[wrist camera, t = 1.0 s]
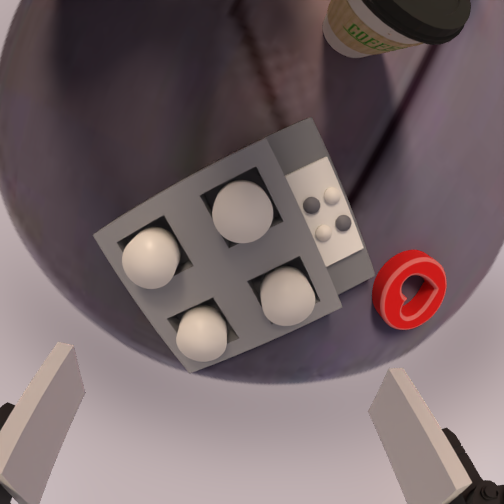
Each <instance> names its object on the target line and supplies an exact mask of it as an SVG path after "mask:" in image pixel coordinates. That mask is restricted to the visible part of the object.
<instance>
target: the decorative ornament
mask: <svg viewBox="0 0 504 504" xmlns="http://www.w3.org/2000/svg"><path fill="white" fill-rule="evenodd" d="M412 275H418V276H421V277H423V279H424V283H423V284H422V286H421V288H420V289H419V291H418V292H417V294H416V295H415V296H414V298H413V299H412V300H411V301H410V302H409V303H407V304H406V305H404V306H403V304H404V302H405V301H406V299H407V298H406V297H405V296H404V295H403V294H402V292H401V288H402V285H403V283H404V281H405V280H406V279H407V278H408V277H410V276H412ZM446 287H447V282H446V275H445V272H444V269H443V267H442V266H441V265H440V264H439V263H438V262H437V261H436V260H434V259H433V258H431V257H430V256H429V255H427V254H426V253H424V252H422V251H419V250H408V251H404V252H401V253H399V254H397V255H395V256H394V257H392V258H391V259H390V260H389V261H387V262H386V263H385V264H384V266H383V267H382V268H381V269H380V271H379V272H378V274H377V276H376V278H375V281H374V285H373V290H372V300H373V304H374V307H375V309H376V310H377V312H378V313H379V314H380V316H381V317H382V318H383V320H384V321H385V322H386V323H387V324H388V325H389V326H390V327H392V328H395V329H398V330H408V329H413V328H416V327H418V326H420V325H422V324H423V323H425V322H426V321H427V320H429V319H430V318H431V317H432V316H433V315H434V314H435V313H436V311H437V310H438V308H439V307H440V305H441V303H442V301H443V299H444V296H445V292H446Z"/></svg>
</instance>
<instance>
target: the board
mask: <svg viewBox="0 0 504 504" xmlns="http://www.w3.org/2000/svg"><path fill="white" fill-rule="evenodd" d="M236 180H248V181H252V182H254V183H256V184H257V185H259V186H260V187H261V188H262V189H263V190H264V191H265V193H266V195H267V196H268V198H269V200H270V201H271V204H272V207H273V220H272V223H271V225H270V228H269V229H268V231H267V232H266V233H265V234H264V235H263V236H262V237H261V238H259V239H257V240H255V241H253V242H249V243H236V242H232V241H230V240H228V239H226V238H225V237H223V236H222V235H221V234H220V233H219V232H218V230H217V229H216V227H215V225H214V222H213V217H212V211H213V206H214V203H215V199H216V197H217V194H218V193H219V191H220V190H221V189H222V188H223V187H224V186H225V185H226V184H228V183H230V182H232V181H236ZM149 227H160V228H164V229H166V230H168V231H169V232H171V233H172V234H173V235H174V236H175V237H176V239H177V240H178V242H179V245H180V248H181V257H180V261H179V264H178V266H177V268H176V271H175V273H174V275H173V277H172V279H171V280H170V281H169V282H168V283H167V284H166V285H165V286H163V287H160V288H157V289H146V288H142V287H140V286H138V285H136V284H135V283H133V282H132V281H131V280H130V279H129V278H128V276H127V275H126V273H125V271H124V269H123V265H122V255H123V252H124V249H125V247H126V246H127V245H128V243H129V242H130V241H131V240H132V239H133V238H134V237H135V236H136V235H137V234H138V233H139V232H140V231H142V230H144V229H146V228H149ZM93 236H94V238H95V239H96V241H97V243H98V244H99V246H100V248H101V249H102V251H103V253H104V254H105V256H106V258H107V259H108V261H109V262H110V264H111V265H112V267H113V269H114V270H115V272H116V273H117V275H118V276H119V278H120V279H121V281H122V282H123V284H124V285H125V287H126V288H127V290H128V291H129V293H130V294H131V296H132V297H133V299H134V300H135V302H136V303H137V305H138V306H139V307H140V309H141V310H142V312H143V313H144V314H145V316H146V317H147V319H148V320H149V321H150V323H151V324H152V326H153V327H154V328H155V330H156V331H157V332H158V334H159V335H160V336H161V338H162V339H163V340H164V342H165V343H166V344H167V346H168V347H169V348H170V349H171V351H172V352H173V353H174V355H175V356H176V357H177V358H178V360H179V361H180V362H181V363H182V365H183V366H184V367H185V368H186V370H187V371H188V372H189V373H192V372H195V371H198V370H200V369H203V368H205V367H208V366H211V365H213V364H216V363H218V362H221V361H223V360H226V359H228V358H231V357H233V356H236V355H238V354H241V353H243V352H245V351H248V350H250V349H253V348H255V347H257V346H260V345H262V344H264V343H267V342H269V341H271V340H273V339H276V338H278V337H280V336H282V335H285V334H287V333H289V332H291V331H293V330H296V329H298V328H300V327H302V326H304V325H306V324H308V323H311V322H313V321H315V320H317V319H319V318H321V317H323V316H325V315H327V314H329V313H331V312H333V311H335V310H337V309H339V308H341V307H342V305H341V302H340V300H339V297H338V294H340V293H342V292H344V291H346V290H348V289H350V288H352V287H354V286H356V285H358V284H360V283H362V282H364V281H366V280H368V279H369V278H371V277H373V276H375V273H374V270H373V267H372V264H371V261H370V258H369V255H368V252H367V249H366V246H365V243H364V241H363V238H362V235H361V232H360V230H359V227H358V224H357V222H356V219H355V216H354V214H353V211H352V209H351V206H350V203H349V201H348V198H347V196H346V193H345V191H344V189H343V186H342V184H341V181H340V179H339V177H338V174H337V172H336V169H335V167H334V165H333V163H332V160H331V158H330V156H329V153H328V151H327V149H326V147H325V145H324V142H323V140H322V138H321V136H320V134H319V132H318V129H317V127H316V125H315V123H314V121H313V119H312V117H309V118H306V119H304V120H302V121H299V122H297V123H295V124H293V125H290V126H288V127H286V128H284V129H282V130H279V131H277V132H275V133H273V134H271V135H269V136H266V137H264V138H262V139H260V140H258V141H256V142H254V143H252V144H250V145H248V146H246V147H244V148H242V149H240V150H238V151H236V152H234V153H232V154H230V155H228V156H226V157H224V158H222V159H220V160H218V161H216V162H214V163H212V164H210V165H208V166H206V167H205V168H203V169H201V170H199V171H197V172H195V173H193V174H192V175H190V176H188V177H186V178H184V179H182V180H181V181H179V182H177V183H175V184H174V185H172V186H170V187H168V188H166V189H165V190H163V191H161V192H160V193H158V194H156V195H154V196H153V197H151V198H149V199H148V200H146V201H144V202H143V203H141V204H139V205H138V206H136V207H134V208H133V209H131V210H129V211H128V212H126V213H125V214H123V215H121V216H120V217H118V218H117V219H115V220H114V221H112V222H111V223H110V224H108V225H106V226H105V227H103V228H102V229H100V230H99V231H98V232H96V233H95V234H94V235H93ZM279 266H292V267H295V268H297V269H299V270H300V271H302V272H303V273H304V275H305V276H306V278H307V280H308V282H309V284H310V286H311V288H312V290H313V292H314V294H315V306H314V309H313V311H312V313H311V314H310V315H309V316H308V317H307V318H306V319H305V320H304V321H302V322H300V323H298V324H296V325H292V326H281V325H277V324H275V323H273V322H271V321H270V320H269V319H268V318H267V317H266V316H265V314H264V312H263V309H262V303H261V297H260V283H261V281H262V279H263V277H264V276H265V275H266V274H267V273H268V272H269V271H270V270H272V269H274V268H276V267H279ZM198 305H207V306H211V307H213V308H216V309H217V310H219V311H220V312H221V313H222V314H223V315H224V317H225V319H226V322H227V346H226V349H225V351H224V353H223V354H222V355H221V356H220V357H218V358H217V359H215V360H212V361H207V362H200V361H195V360H192V359H190V358H188V357H186V356H185V355H184V354H182V352H181V351H180V350H179V348H178V346H177V343H176V337H177V333H178V329H179V325H180V321H181V318H182V316H183V314H184V313H185V312H186V311H187V310H188V309H189V308H191V307H194V306H198Z"/></svg>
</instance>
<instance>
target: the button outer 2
mask: <svg viewBox="0 0 504 504" xmlns="http://www.w3.org/2000/svg"><path fill="white" fill-rule="evenodd" d="M260 297H261V303H262V309H263V312H264V314H265V316H266V317H267V318H268V319H269V320H270V321H271V322H273V323H275V324H277V325H281V326H292V325H296V324H298V323H300V322H302V321H304V320H305V319H306V318H307V317H308V316H309V315H310V314H311V313H312V311H313V309H314V306H315V294H314V292H313V290H312V288H311V286H310V284H309V282H308V280H307V278H306V276H305V275H304V273H303V272H302V271H300V270H299V269H297V268H295V267H292V266H279V267H276V268H274V269H272V270H270V271H269V272H268V273H267V274H266V275H265V276H264V277H263V279H262V281H261V283H260Z"/></svg>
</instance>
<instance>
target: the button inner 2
mask: <svg viewBox="0 0 504 504" xmlns="http://www.w3.org/2000/svg"><path fill="white" fill-rule="evenodd" d="M212 217H213V222H214V225H215V227H216V229H217V230H218V232H219V233H220V234H221V235H222V236H223V237H225V238H226V239H228V240H230V241H232V242H236V243H249V242H253V241H255V240H257V239H259V238H261V237H262V236H263V235H264V234H265V233H266V232H267V231H268V229H269V228H270V225H271V223H272V220H273V207H272V204H271V201H270V200H269V198H268V196H267V195H266V193H265V191H264V190H263V189H262V188H261V187H260V186H259V185H257V184H256V183H254V182H252V181H248V180H236V181H232V182H230V183H228V184H226V185H225V186H224V187H223V188H222V189H221V190H220V191H219V193H218V194H217V197H216V199H215V203H214V206H213V211H212Z"/></svg>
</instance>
